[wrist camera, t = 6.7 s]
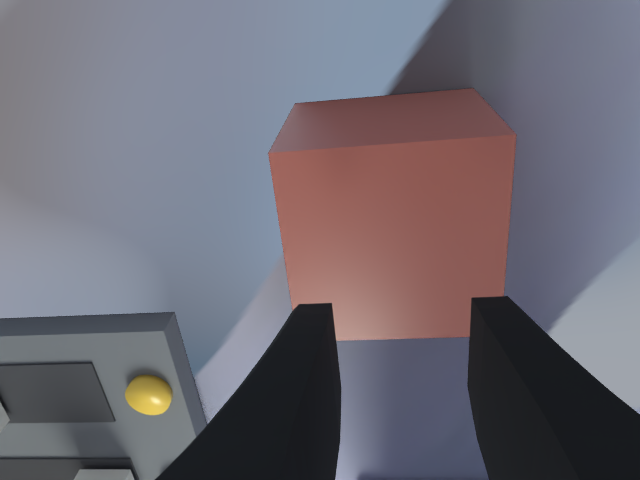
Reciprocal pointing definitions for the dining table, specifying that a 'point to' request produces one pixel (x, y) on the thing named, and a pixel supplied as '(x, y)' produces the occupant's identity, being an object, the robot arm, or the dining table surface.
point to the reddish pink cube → (395, 210)
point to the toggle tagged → (3, 418)
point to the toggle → (104, 474)
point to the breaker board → (95, 395)
